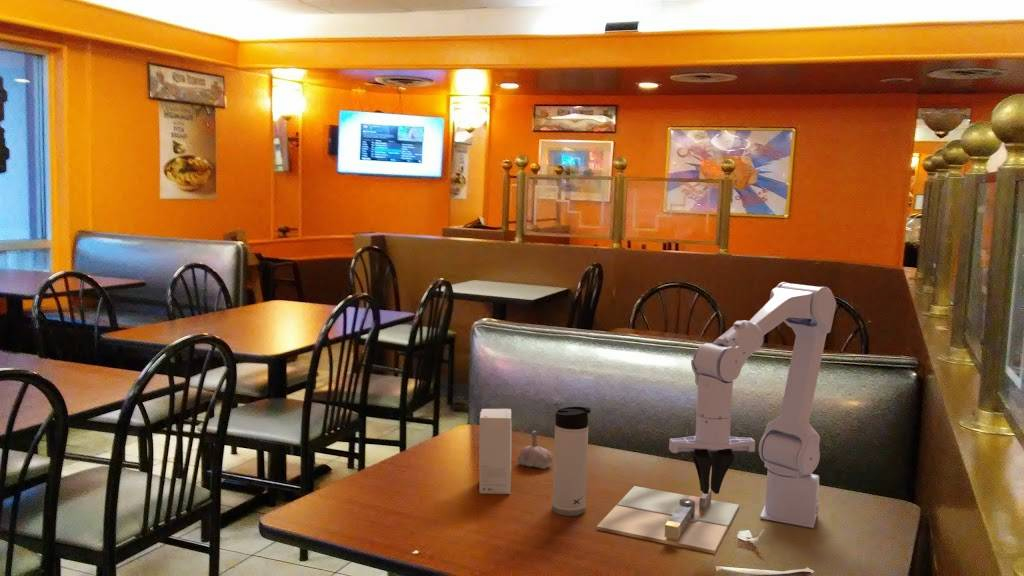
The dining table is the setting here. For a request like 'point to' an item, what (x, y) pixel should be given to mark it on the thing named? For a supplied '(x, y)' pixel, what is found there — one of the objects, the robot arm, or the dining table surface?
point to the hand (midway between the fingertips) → (709, 491)
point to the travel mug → (570, 461)
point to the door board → (653, 508)
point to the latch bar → (680, 519)
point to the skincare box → (495, 451)
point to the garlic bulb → (535, 455)
